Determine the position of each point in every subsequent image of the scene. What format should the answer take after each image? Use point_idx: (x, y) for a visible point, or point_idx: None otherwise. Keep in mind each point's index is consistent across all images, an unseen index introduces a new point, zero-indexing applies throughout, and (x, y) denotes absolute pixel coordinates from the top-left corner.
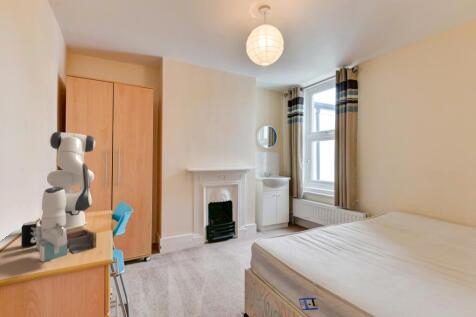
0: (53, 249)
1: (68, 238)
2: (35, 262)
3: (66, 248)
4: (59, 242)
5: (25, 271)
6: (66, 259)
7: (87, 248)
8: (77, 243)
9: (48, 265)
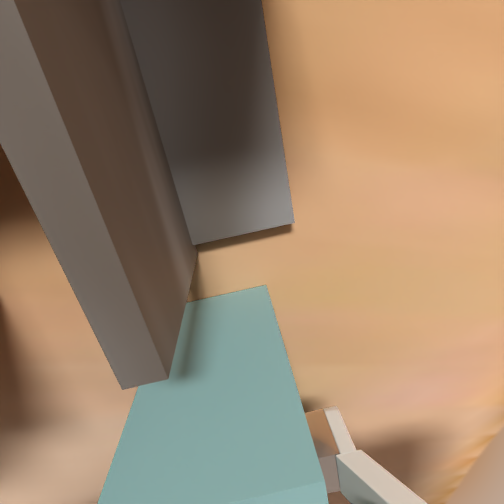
0: None
1: None
2: None
3: (282, 340)
4: None
5: None
6: (405, 297)
7: (254, 14)
8: (145, 172)
9: (414, 407)
